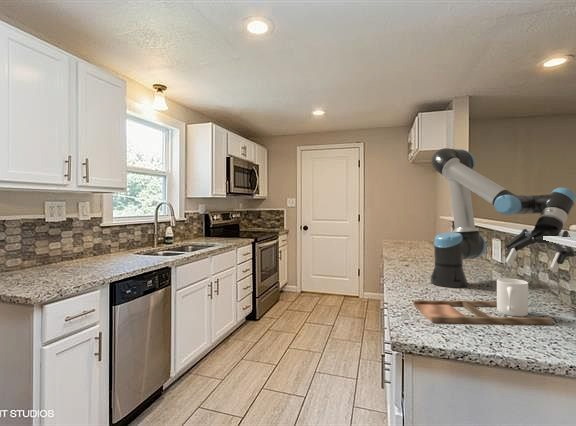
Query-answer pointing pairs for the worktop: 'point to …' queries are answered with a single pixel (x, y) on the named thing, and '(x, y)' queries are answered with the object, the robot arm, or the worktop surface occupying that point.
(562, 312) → the worktop surface
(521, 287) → the mug
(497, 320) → the flat wooden frame
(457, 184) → the robot arm
